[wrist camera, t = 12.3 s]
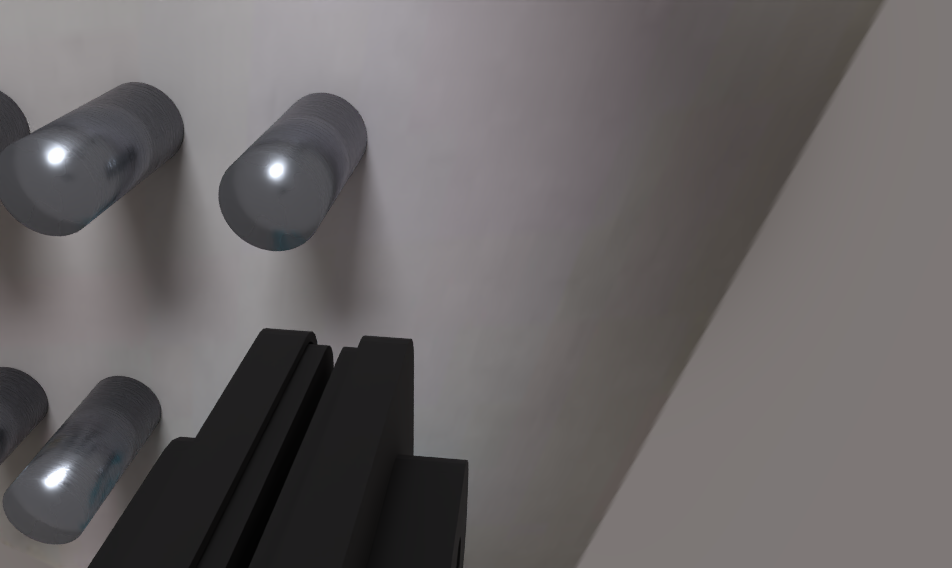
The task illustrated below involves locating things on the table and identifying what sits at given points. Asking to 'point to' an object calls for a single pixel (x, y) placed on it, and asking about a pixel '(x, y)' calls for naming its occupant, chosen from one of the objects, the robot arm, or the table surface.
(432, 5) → the table surface
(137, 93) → the spacer field
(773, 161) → the table surface
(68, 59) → the table surface
